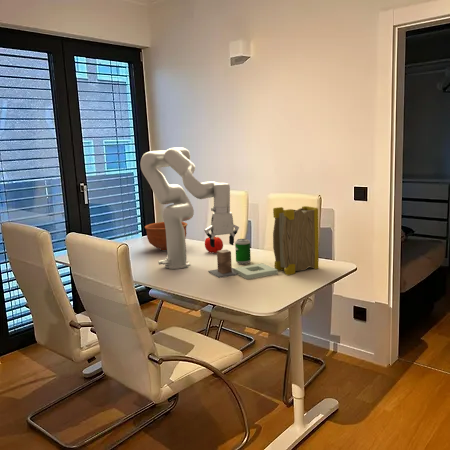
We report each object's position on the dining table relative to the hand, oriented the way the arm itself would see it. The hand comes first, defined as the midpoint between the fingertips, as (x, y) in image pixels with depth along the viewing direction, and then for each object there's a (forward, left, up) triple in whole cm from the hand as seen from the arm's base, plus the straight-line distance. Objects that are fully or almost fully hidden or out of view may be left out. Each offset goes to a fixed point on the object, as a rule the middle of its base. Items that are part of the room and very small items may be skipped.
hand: (222, 245), depth 223 cm
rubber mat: (+1, -1, -13) cm, 13 cm away
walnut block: (0, -1, -13) cm, 13 cm away
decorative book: (+32, -15, -13) cm, 37 cm away
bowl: (-7, +64, -13) cm, 66 cm away
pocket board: (+13, -9, -13) cm, 20 cm away
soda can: (+17, +11, -13) cm, 24 cm away
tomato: (+14, +41, -13) cm, 45 cm away
